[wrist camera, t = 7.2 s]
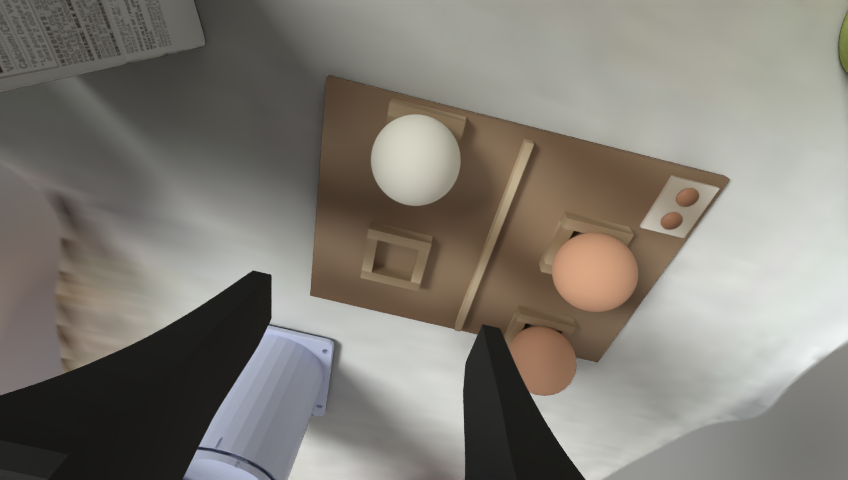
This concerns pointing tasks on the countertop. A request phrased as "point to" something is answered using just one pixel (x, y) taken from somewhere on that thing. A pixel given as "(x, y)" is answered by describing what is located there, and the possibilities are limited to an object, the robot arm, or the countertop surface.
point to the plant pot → (844, 44)
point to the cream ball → (415, 160)
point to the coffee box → (89, 36)
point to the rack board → (490, 220)
